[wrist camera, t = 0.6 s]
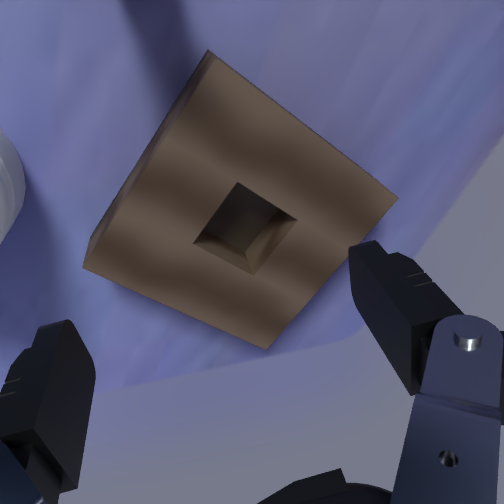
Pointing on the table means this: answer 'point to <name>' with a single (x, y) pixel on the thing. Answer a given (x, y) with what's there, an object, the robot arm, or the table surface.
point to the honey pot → (10, 185)
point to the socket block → (235, 210)
